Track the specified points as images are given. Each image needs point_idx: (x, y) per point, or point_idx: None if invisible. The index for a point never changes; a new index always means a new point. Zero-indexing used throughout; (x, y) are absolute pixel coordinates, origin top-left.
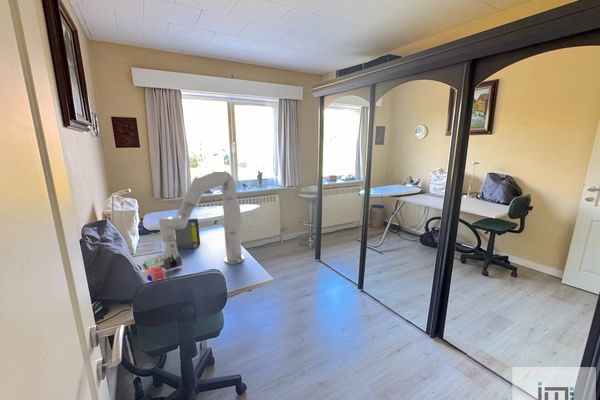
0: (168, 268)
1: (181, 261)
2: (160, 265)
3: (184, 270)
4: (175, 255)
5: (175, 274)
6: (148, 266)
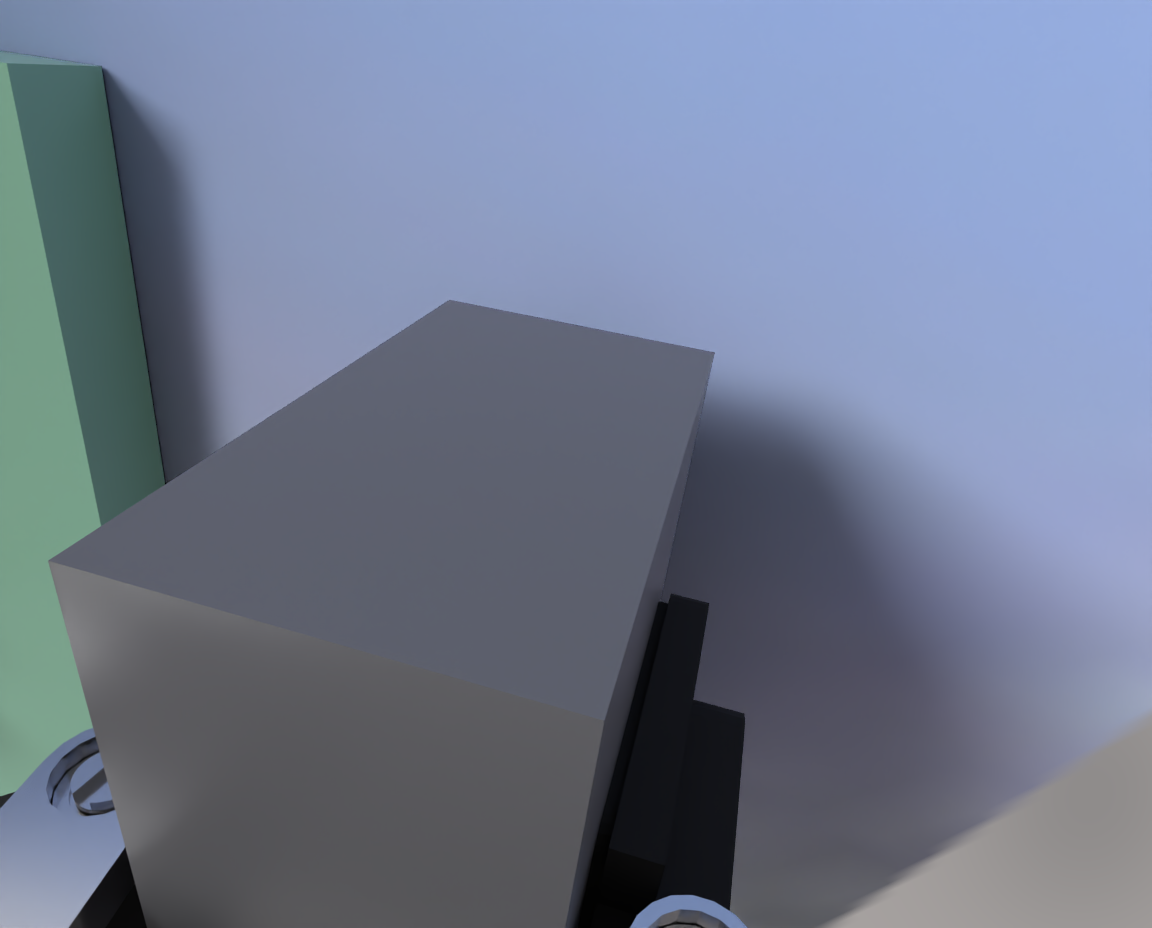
0: None
1: (685, 440)
2: None
3: (1022, 378)
4: (109, 787)
5: (978, 708)
6: None
